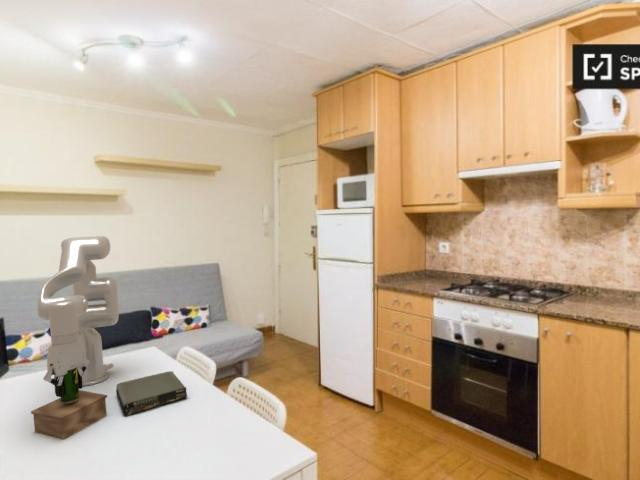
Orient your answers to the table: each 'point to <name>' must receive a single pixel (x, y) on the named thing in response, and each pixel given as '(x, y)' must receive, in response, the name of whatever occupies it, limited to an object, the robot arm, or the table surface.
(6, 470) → the table surface
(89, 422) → the wooden block
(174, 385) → the network switch
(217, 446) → the table surface
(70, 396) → the beer can
